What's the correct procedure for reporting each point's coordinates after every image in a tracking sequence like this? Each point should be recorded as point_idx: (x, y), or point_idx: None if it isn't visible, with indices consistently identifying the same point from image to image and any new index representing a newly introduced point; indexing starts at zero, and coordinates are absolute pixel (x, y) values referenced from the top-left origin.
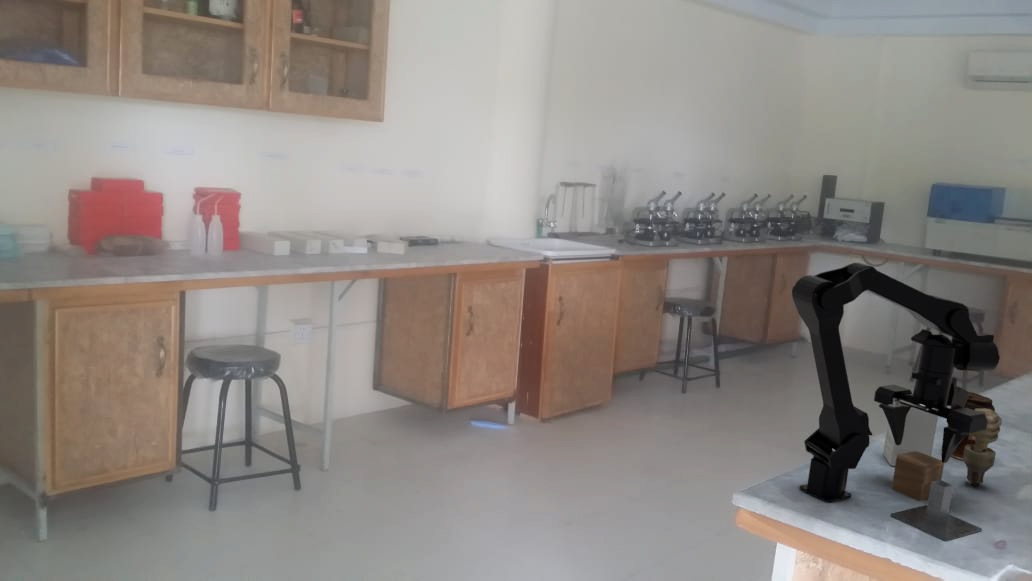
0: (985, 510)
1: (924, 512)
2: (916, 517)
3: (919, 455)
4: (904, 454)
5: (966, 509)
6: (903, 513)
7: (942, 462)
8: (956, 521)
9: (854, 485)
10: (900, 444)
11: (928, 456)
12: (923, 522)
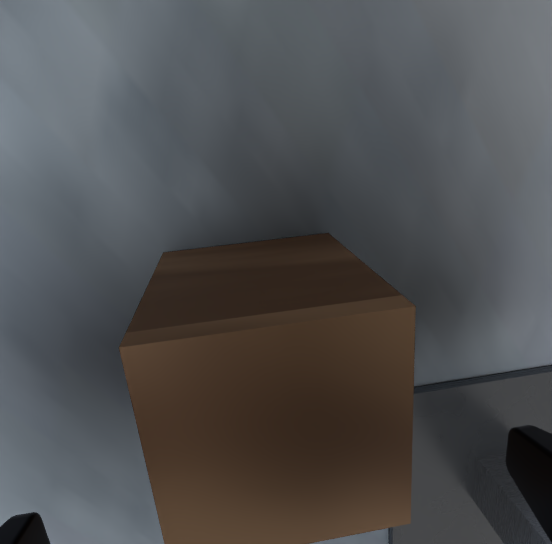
0: (530, 134)
1: (437, 462)
2: (451, 518)
3: (233, 412)
4: (181, 516)
5: (480, 226)
6: (410, 539)
7: (509, 464)
8: (541, 405)
9: (113, 522)
10: (40, 519)
11: (274, 348)
12: (485, 521)
